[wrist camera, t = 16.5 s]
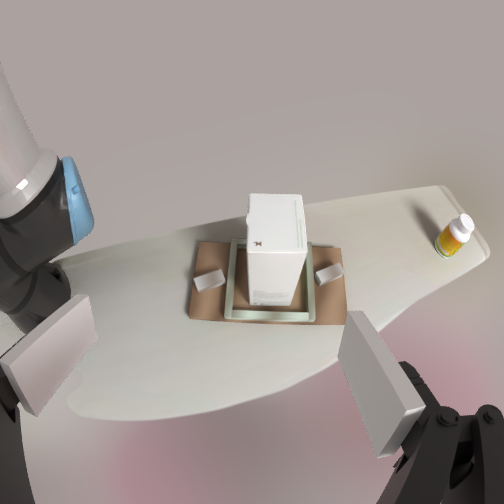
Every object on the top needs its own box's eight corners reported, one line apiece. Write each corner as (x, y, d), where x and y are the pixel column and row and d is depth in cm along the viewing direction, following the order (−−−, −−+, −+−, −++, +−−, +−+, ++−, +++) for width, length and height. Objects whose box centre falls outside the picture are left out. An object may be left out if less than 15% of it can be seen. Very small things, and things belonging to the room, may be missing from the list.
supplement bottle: (447, 263, 46) (473, 238, 37) (430, 246, 48) (454, 218, 40) (455, 249, 48) (479, 224, 39) (439, 233, 50) (461, 206, 41)
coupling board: (190, 318, 41) (185, 312, 38) (200, 246, 47) (197, 235, 44) (344, 324, 40) (351, 318, 38) (338, 252, 47) (343, 242, 44)
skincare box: (290, 307, 40) (310, 256, 27) (245, 306, 40) (243, 253, 27) (288, 258, 45) (304, 192, 31) (247, 256, 45) (247, 190, 31)
